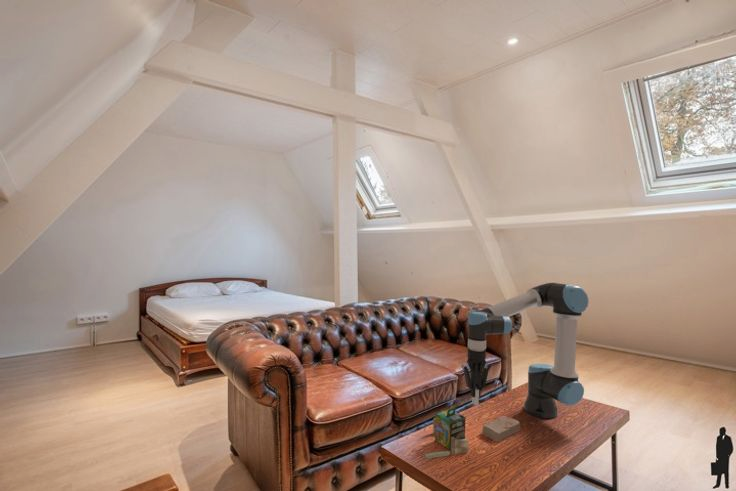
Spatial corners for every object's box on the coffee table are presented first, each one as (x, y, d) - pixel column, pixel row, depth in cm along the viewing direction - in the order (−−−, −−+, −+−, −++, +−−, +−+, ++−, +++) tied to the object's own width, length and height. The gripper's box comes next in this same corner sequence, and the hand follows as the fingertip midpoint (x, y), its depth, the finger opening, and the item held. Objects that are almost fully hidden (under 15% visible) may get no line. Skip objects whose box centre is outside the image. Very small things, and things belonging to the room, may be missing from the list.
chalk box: (450, 434, 160) (450, 400, 160) (466, 444, 153) (466, 408, 152) (434, 440, 155) (434, 405, 155) (449, 451, 148) (450, 414, 148)
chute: (447, 430, 163) (447, 416, 163) (468, 452, 146) (468, 436, 146) (433, 432, 161) (433, 418, 161) (452, 455, 145) (452, 438, 145)
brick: (497, 443, 154) (498, 432, 154) (481, 434, 161) (481, 424, 161) (520, 432, 164) (520, 421, 164) (503, 424, 171) (504, 414, 171)
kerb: (448, 453, 146) (448, 450, 146) (449, 455, 145) (449, 452, 145) (425, 457, 143) (425, 454, 143) (426, 458, 142) (426, 455, 142)
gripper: (485, 345, 162) (483, 399, 162) (458, 347, 159) (457, 401, 159) (495, 350, 155) (494, 406, 155) (467, 352, 151) (466, 409, 152)
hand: (475, 404), depth 157 cm, fingers closed
